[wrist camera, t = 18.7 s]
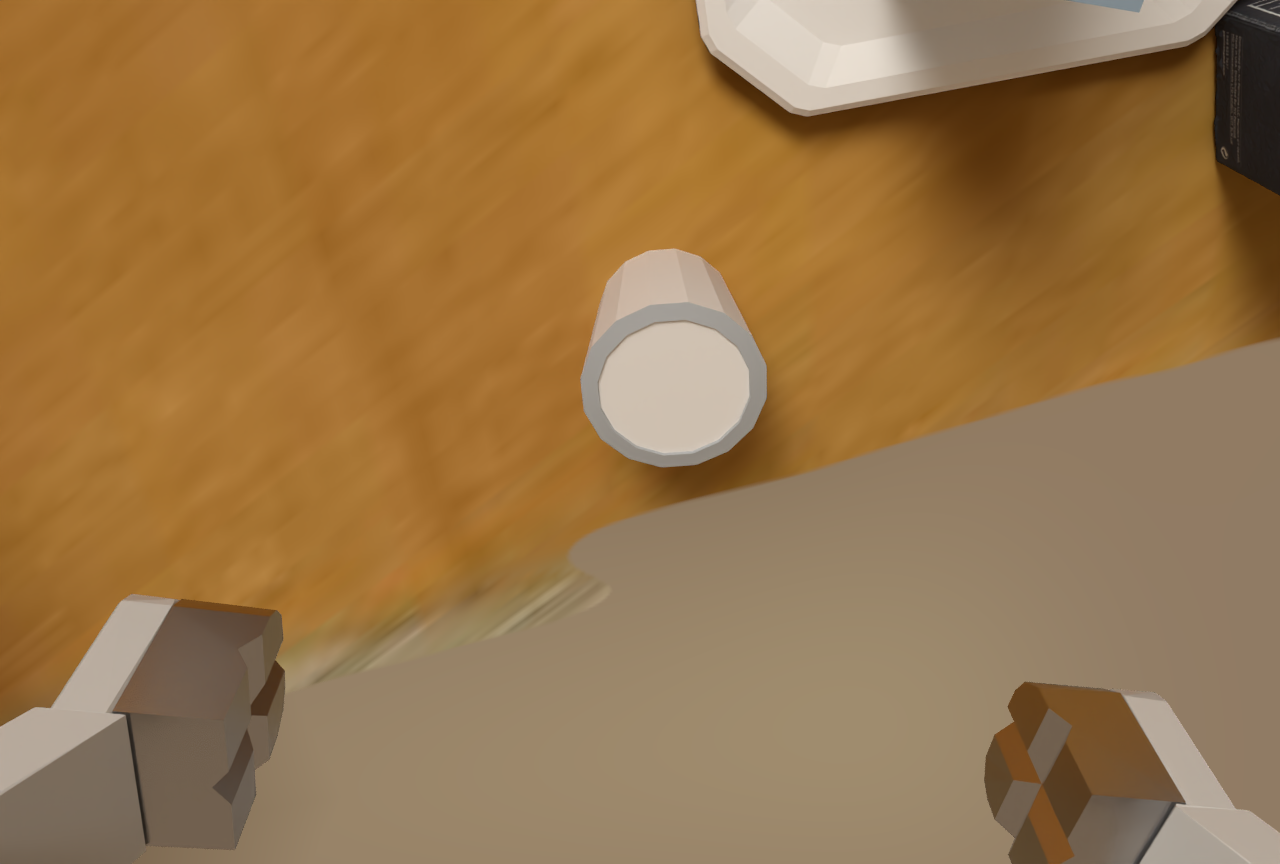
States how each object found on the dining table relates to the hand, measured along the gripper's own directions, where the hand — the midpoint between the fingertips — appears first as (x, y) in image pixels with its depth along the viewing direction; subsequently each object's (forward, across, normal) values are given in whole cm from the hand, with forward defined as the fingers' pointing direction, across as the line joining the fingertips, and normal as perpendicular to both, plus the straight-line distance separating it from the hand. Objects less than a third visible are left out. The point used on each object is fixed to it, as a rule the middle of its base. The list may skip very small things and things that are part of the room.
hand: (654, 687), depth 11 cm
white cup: (+31, +3, -9) cm, 33 cm away
